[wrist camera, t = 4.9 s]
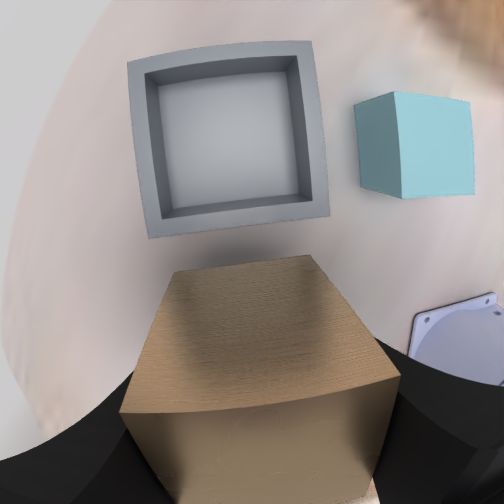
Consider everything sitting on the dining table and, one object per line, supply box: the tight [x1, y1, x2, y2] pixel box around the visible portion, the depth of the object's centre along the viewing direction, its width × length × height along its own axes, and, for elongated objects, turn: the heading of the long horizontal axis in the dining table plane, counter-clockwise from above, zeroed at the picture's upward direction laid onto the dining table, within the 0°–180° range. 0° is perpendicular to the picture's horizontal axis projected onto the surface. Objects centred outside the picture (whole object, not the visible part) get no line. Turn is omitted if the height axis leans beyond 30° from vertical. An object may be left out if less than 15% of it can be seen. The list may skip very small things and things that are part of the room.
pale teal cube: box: [354, 92, 475, 199], centre depth 15 cm, size 5×5×5 cm
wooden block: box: [119, 255, 401, 504], centre depth 9 cm, size 5×5×7 cm
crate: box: [127, 41, 330, 239], centre depth 15 cm, size 9×9×4 cm
